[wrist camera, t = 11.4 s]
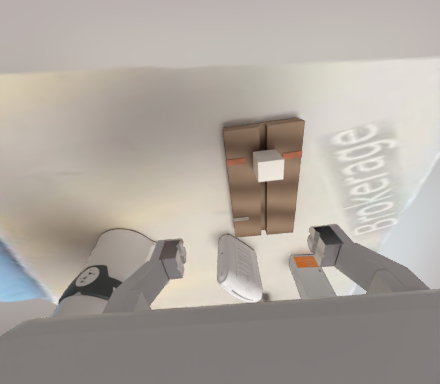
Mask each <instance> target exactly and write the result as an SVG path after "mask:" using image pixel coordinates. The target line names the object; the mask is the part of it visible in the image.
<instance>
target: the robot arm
mask: <svg viewBox="0 0 440 384" xmlns="http://www.w3.org/2000/svg"><path fill="white" fill-rule="evenodd" d="M309 232H310V235H309V236H308V239H307V242H308V247H309V249H310V251H311V252H312V253H314V254H315V257H314V258H315V259H316V261H317V263H318V265H319V266H320V267H328V266H335V268H337V269H338V270H339V271H341V272H342V273H343V274H345V275H346V276H347V277H349V278H350V279H351V280H353V281H354V282H355V283H357V284H358V285H359V286H360V287H362V288H363V289H364V290H366V291H367V292H366V294H362V295H349V296H335V297H321V298H308V299H294V300H281V301H267V302H253V303H239V304H226V305H212V306H198V307H184V308H171V309H157V310H151V308H150V305H151V303H152V302H153V301H154V299H155V298H156V297H157V295H158V294H159V293H160V292H161V290H162V289H163V288H164V286H165V285H167V284H168V283H169V279H178V278H183V273H184V266H183V264H184V263H185V262H186V250H185V247H183V240H182V239H166V240H159V241H158V242H157V243H156V242H153V241H151V240H149V239H148V238H146V237H145V236H143V235H141V234H139V233H137V232H134V231H130V230H124V229H115V230H110V231H107V232H105V233H103V234H102V235H101V236H100V237H99V239H98V242H97V244H96V246H95V248H94V249H93V250H92V252H91V254H90V257H89V259H88V261H87V262H86V264H85V266H84V268H83V269H82V271H81V272H80V274H79V275H78V276H77V277H76V278H75V279H74V280H73V282H72V283H71V284H70V286H69V287H68V288H67V290H65V292H64V293H63V295H62V297H61V298H60V299H59V305H58V306H57V308H56V309H55V310H54V312H53V313H52V314H51V316H50V317H48V318H47V317H46V318H33V319H28V320H25V321H23V322H21V323H20V324H18V325H16V326H15V327H13V328H12V329H10V330H9V331H7V332H6V333H4V334H3V335H1V336H0V384H440V289H429V288H428V287H427V286H426V285H425V284H424V283H423V282H422V281H421V280H420V279H419V278H418V277H417V276H416V275H415V274H413V273H412V272H411V271H410V270H409V269H408V268H407V267H405V266H403V265H401V264H399V263H397V262H394V261H393V260H390V259H388V258H386V257H384V256H382V255H380V254H378V253H376V252H374V251H372V250H370V249H368V248H366V247H364V246H362V245H360V244H358V243H354V242H353V241H352V240H351V239H350V238H349V237H348V236H347V235H346V234H345V232H344V231H343V230H342V229H341V228H340V227H339V226H338V225H337V224H331V225H321V226H311V227H310V228H309Z"/></svg>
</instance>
